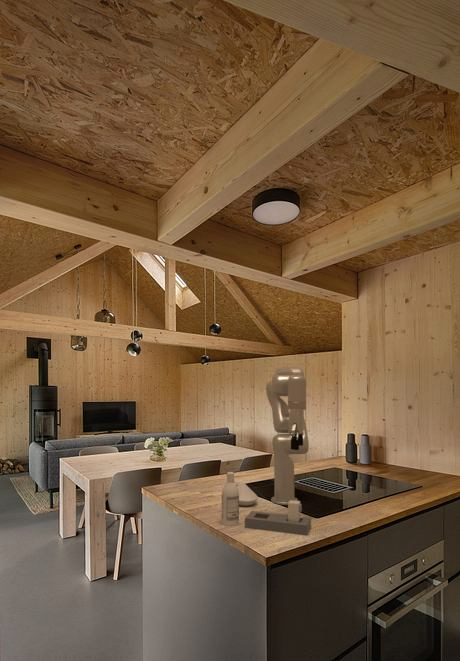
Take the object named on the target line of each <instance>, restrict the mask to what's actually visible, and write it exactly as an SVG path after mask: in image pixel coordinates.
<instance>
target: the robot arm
mask: <svg viewBox="0 0 460 661" xmlns="http://www.w3.org/2000/svg"><path fill="white" fill-rule="evenodd" d="M265 386H266V387H265V388H266V392H265V393H266V396H267V397H266V398H267V400H268V403H269V405H270V407H271V412H272V421H273V422H272V424H273V428H274V431H275V432H276V433H279V434H276V435H274V436H273V438H272V439H271V440H272V442H271V443H272V451H273V462H274V463H273V464H274V468H273V469H274V470H273V471H274V476H273V477H274V480H273V481H274V496H272V497H271V502H272V503H274V504H276V505H283V506H288V502H289V501H290V500H293V501H299V499H298V498H297V497H295V464H294V461H293V459H292V458H291V457H290V455H304V454H307V453H308V452H309V449H310V446H309V436H308V430H307V424H306V419H305V416H304V415H305V414H304V413H305V412H304V411H306V410H307V379H306V377H305V373H304V371H303V369H302V368H301V367H297V366H295V367H293V366H291V367H290V366H288V367H287V366H282V367H281V366H280V367H278V368H277V369H276V370H275V372H274V374H273V375H272V378H271V380H269V381H268V382H267V383H266V385H265ZM281 397H287V402H286V401H285V400H284V399H282V398H281Z"/></svg>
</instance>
